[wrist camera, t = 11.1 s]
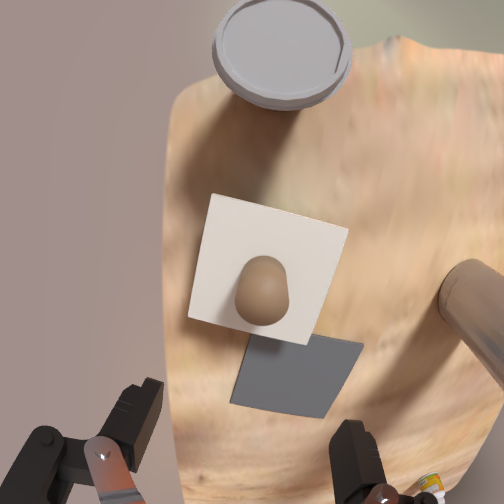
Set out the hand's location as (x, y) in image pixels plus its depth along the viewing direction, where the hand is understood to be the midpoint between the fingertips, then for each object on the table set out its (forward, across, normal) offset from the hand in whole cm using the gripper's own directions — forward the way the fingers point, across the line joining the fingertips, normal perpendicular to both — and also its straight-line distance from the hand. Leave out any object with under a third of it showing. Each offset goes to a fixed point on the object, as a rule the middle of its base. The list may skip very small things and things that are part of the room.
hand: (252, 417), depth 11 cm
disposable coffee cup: (+22, +3, -18) cm, 29 cm away
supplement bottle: (+22, -53, +44) cm, 72 cm away
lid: (+17, 0, 0) cm, 17 cm away
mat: (+22, -8, +15) cm, 28 cm away
